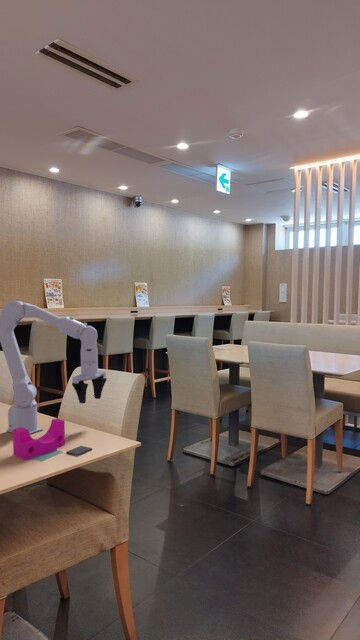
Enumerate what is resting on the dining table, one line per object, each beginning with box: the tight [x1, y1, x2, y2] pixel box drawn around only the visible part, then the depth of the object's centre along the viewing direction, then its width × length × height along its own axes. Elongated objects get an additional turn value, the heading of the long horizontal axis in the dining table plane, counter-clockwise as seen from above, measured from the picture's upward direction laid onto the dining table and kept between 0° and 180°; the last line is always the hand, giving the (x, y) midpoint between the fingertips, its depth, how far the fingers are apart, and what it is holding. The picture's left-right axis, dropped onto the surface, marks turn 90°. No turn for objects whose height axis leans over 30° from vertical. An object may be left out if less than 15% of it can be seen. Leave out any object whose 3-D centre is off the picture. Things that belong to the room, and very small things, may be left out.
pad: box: [30, 449, 64, 462], centre depth 133 cm, size 8×8×1 cm
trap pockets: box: [66, 445, 93, 457], centre depth 139 cm, size 20×6×1 cm, turn 59°
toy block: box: [12, 418, 66, 461], centre depth 136 cm, size 15×6×8 cm, turn 139°
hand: (90, 400), depth 158 cm, fingers open, 7 cm apart
